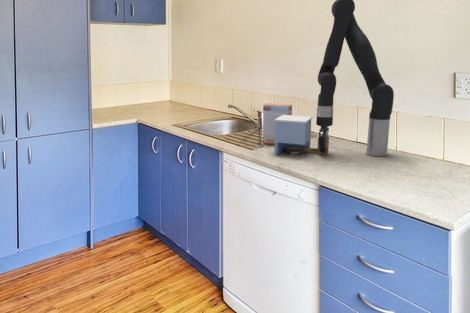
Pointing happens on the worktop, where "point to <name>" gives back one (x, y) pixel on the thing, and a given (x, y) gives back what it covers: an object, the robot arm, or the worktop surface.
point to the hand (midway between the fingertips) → (322, 150)
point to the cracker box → (268, 120)
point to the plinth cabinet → (292, 132)
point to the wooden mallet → (313, 150)
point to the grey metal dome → (294, 152)
